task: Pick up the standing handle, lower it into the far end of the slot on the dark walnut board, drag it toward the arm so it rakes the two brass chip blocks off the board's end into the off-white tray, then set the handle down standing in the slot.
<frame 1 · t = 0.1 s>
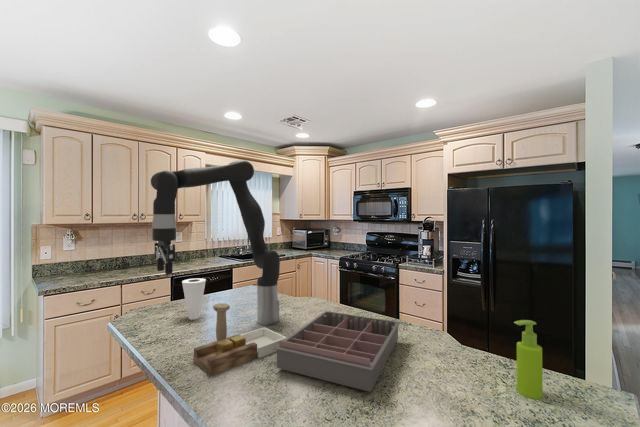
hand: (164, 272, 108), 29 cm above the countertop, fingers open, 8 cm apart
slot board: (226, 359, 104), on the countertop
handle: (221, 345, 115), on the countertop
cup: (194, 318, 145), on the countertop
organizer tray: (343, 356, 107), on the countertop
tray: (260, 346, 114), on the countertop
soap dispenser: (527, 393, 84), on the countertop
chip a: (224, 353, 103), point 2 cm above the countertop, touching slot board
chip b: (237, 349, 107), point 2 cm above the countertop, touching slot board
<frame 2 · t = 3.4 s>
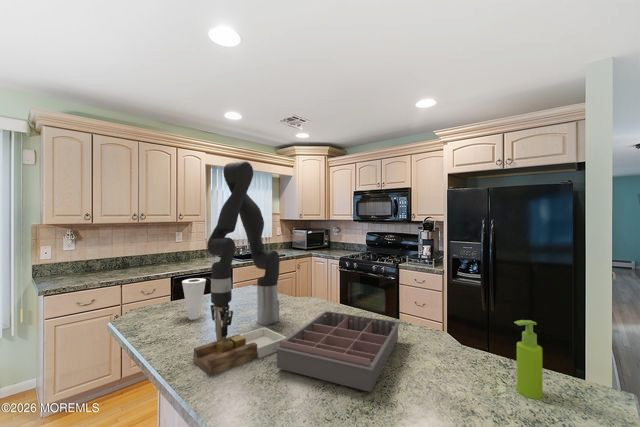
hand: (221, 334, 115), 4 cm above the countertop, fingers closed on handle, 4 cm apart
handle: (221, 345, 115), on the countertop, touching gripper
everything else where it was.
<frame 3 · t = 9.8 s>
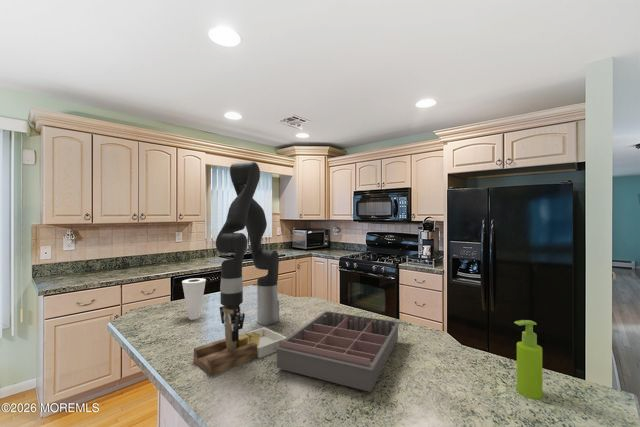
hand: (231, 338, 106), 6 cm above the countertop, fingers closed on handle, 4 cm apart
handle: (231, 350, 105), point 2 cm above the countertop, touching chip a, gripper
chip a: (241, 347, 108), point 2 cm above the countertop, touching chip b, handle
chip b: (251, 345, 111), point 2 cm above the countertop, tilted 9°, touching chip a
everything else where it was.
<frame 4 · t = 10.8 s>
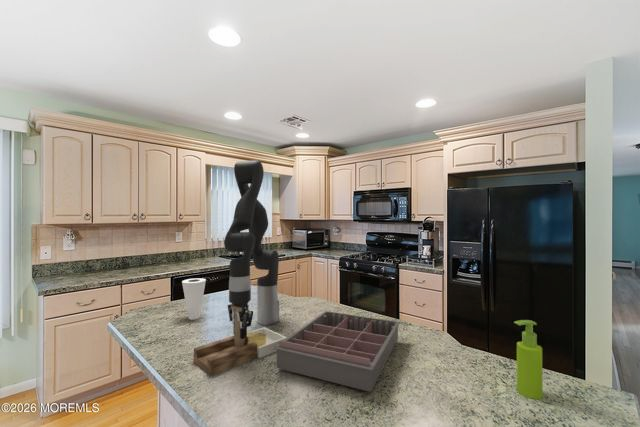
hand: (240, 335, 108), 6 cm above the countertop, fingers closed on handle, 4 cm apart
handle: (239, 347, 108), point 2 cm above the countertop, touching chip a, gripper
chip a: (249, 345, 110), point 2 cm above the countertop, touching chip b, handle
chip b: (258, 345, 113), point 1 cm above the countertop, touching chip a, tray
everything else where it was.
when the fingers open (6 cm above the countertop, at t = 11.7 s): handle stays where it is, resting on slot board.
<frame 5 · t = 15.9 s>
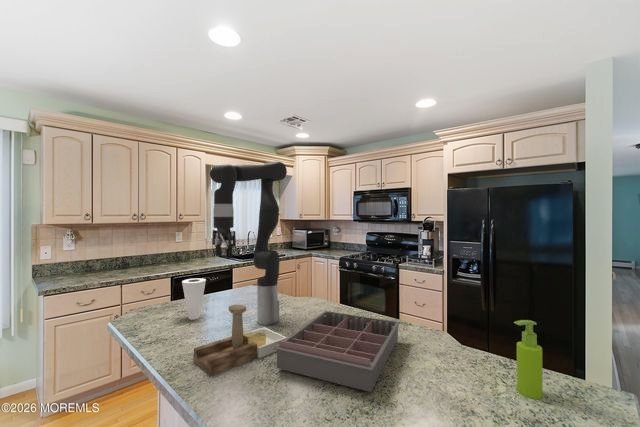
hand: (223, 257, 118), 33 cm above the countertop, fingers open, 8 cm apart
handle: (237, 349, 107), point 2 cm above the countertop, touching slot board
chip a: (249, 345, 110), point 2 cm above the countertop, touching chip b, slot board
everything else where it was.
at the end: chip a inside the target area (5.3 cm from its centre), point 2.0 cm above the countertop; chip b inside the target area (1.3 cm from its centre), point 0.7 cm above the countertop; the gripper is holding nothing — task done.
